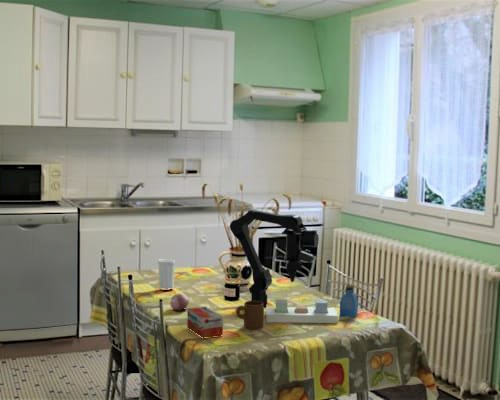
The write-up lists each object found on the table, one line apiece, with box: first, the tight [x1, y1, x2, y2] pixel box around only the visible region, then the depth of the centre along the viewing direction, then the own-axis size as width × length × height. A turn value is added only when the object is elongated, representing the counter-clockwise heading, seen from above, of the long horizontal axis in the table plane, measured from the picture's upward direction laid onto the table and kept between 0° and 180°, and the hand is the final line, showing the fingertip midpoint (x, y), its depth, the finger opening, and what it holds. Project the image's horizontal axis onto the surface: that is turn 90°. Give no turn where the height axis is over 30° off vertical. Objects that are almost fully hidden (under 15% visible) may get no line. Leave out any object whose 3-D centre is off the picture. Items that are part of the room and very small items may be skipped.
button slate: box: [314, 299, 329, 313], centre depth 265 cm, size 4×4×4 cm
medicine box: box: [186, 306, 224, 338], centre depth 245 cm, size 15×8×8 cm, turn 29°
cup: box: [157, 258, 176, 289], centre depth 310 cm, size 8×8×14 cm
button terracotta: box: [295, 305, 308, 313], centre depth 266 cm, size 4×4×4 cm
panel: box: [265, 306, 339, 324], centre depth 266 cm, size 28×12×3 cm, turn 90°
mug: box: [235, 300, 265, 330], centre depth 251 cm, size 12×8×9 cm, turn 127°
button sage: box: [275, 299, 288, 312], centre depth 265 cm, size 4×4×4 cm
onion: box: [169, 293, 190, 311], centre depth 276 cm, size 8×8×7 cm
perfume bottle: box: [339, 285, 359, 319], centre depth 271 cm, size 6×6×12 cm
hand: (292, 281), depth 278 cm, fingers closed
